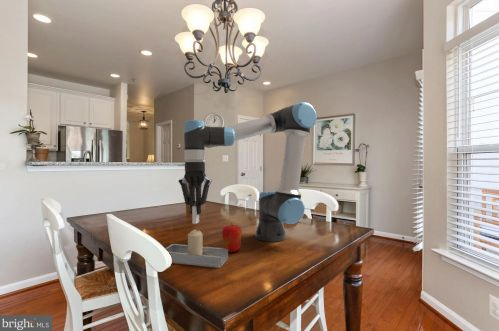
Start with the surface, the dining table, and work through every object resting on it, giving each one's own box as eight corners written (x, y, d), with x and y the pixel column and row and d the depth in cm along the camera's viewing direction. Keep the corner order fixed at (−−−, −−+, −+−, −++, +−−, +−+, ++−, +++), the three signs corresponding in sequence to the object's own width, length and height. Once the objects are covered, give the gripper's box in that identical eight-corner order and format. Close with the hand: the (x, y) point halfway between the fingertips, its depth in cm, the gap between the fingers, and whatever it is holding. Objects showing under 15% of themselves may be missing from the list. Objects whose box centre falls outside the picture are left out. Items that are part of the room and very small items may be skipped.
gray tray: (228, 258, 100) (228, 248, 100) (219, 268, 90) (219, 257, 90) (172, 252, 105) (172, 243, 105) (159, 261, 96) (159, 251, 96)
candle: (189, 253, 101) (189, 228, 101) (203, 253, 101) (203, 228, 101) (186, 259, 95) (186, 232, 95) (201, 258, 96) (201, 232, 96)
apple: (236, 255, 102) (236, 226, 102) (218, 252, 105) (218, 224, 105) (245, 248, 110) (245, 221, 110) (227, 246, 113) (227, 219, 113)
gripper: (214, 161, 99) (215, 221, 100) (183, 161, 102) (184, 219, 103) (206, 161, 92) (207, 226, 93) (174, 161, 95) (175, 224, 96)
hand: (195, 222), depth 98 cm, fingers closed
